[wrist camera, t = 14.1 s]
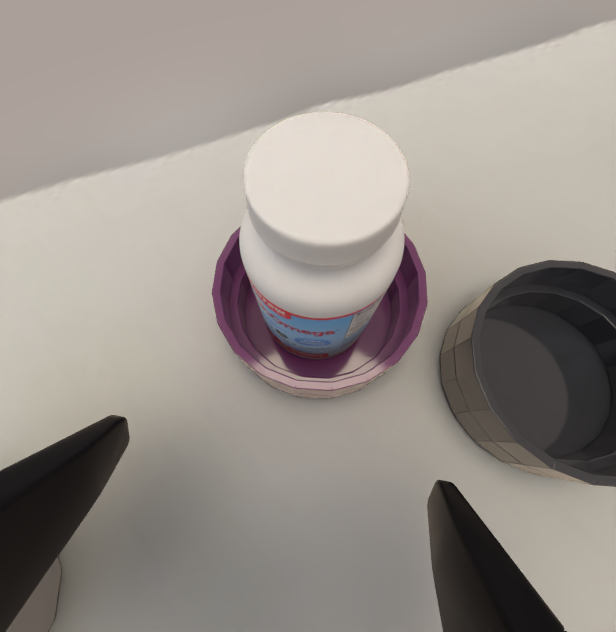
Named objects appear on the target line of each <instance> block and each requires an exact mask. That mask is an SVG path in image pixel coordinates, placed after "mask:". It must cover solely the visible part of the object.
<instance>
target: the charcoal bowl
mask: <svg viewBox="0 0 616 632" xmlns="http://www.w3.org/2000/svg"><path fill="white" fill-rule="evenodd" d="M440 355H441V356H440V361H441V375H442V384H443V388H444V390H445V393H446V396H447V398H448V401H449V403H450V406H451V409H452V411H453V413H454V415H455V416H456V418H457V419H458V420H459V422H460V423H461V424H462V426H463V427H464V428H465V430H466V431H467V432H468V434H469V435H470V436H471V437H472V439H473V440H475V442H477V443H478V444H479V445H481V446H482V447H483V448H484V449H486V450H487V451H488V452H490V453H491V454H492V455H494V456H495V457H496V458H497V459H499V460H501V461H502V462H504V463H506V464H509V465H511V466H514V467H516V468H519V469H521V470H524V471H527V472H529V473H532V474H536V475H541V476H547V477H552V478H558V479H563V480H568V481H574V482H579V483H584V484H590V485H597V486H612V487H616V273H615V272H613V271H609V270H606V269H603V268H600V267H597V266H593V265H590V264H587V263H584V262H575V261H555V260H548V261H544V262H539V263H535V264H531V265H527V266H523V267H520V268H518V269H516V270H514V271H513V272H511V273H510V274H508V275H507V276H505V277H504V278H502V279H501V280H499V281H498V282H496V283H495V284H494V285H492V286H491V287H490V288H489V289H487V290H486V291H485V292H484V293H483V294H481V295H480V296H479V297H478V298H476V299H475V300H474V301H473V302H471V303H470V304H469V305H468V306H466V307H465V308H464V309H463V310H462V311H461V312H460V313H459V314H458V316H457V317H456V319H455V320H454V321H453V323H452V324H451V326H450V327H449V328H448V330H447V332H446V336H445V339H444V343H443V347H442V351H441V354H440Z"/></svg>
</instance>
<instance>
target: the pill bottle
mask: <svg viewBox="0 0 616 632" xmlns="http://www.w3.org/2000/svg"><path fill="white" fill-rule="evenodd" d="M243 185H244V191H245V195H246V199H247V209H246V211H245V213H244V216H243V219H242V222H241V227H240V234H239V245H240V253H241V258H242V261H243V265H244V268H245V270H246V273H247V275H248V278H249V281H250V283H251V286H252V289H253V292H254V294H255V297H256V299H257V302H258V305H259V307H260V310H261V313H262V315H263V318H264V321H265V323H266V326H267V328H268V330H269V332H270V334H271V335H272V337H273V338H274V340H275V341H276V342H277V343H278V344H279V345H280V346H281V347H282V348H284V349H285V350H287V351H288V352H290V353H292V354H294V355H296V356H299V357H302V358H307V359H326V358H331V357H334V356H337V355H339V354H341V353H343V352H344V351H346V350H347V349H348V348H350V347H351V346H352V345H353V344H354V343H355V342H356V341H357V339H358V338H359V337H360V335H361V334H362V333H363V331H364V329H365V328H366V326H367V324H368V323H369V321H370V319H371V317H372V316H373V314H374V312H375V310H376V309H377V307H378V305H379V303H380V302H381V300H382V298H383V296H384V295H385V293H386V291H387V289H388V288H389V286H390V284H391V282H392V281H393V279H394V277H395V275H396V273H397V271H398V269H399V266H400V264H401V261H402V257H403V252H404V242H405V239H404V228H403V223H402V220H401V214H402V210H403V208H404V205H405V202H406V199H407V196H408V191H409V169H408V165H407V162H406V160H405V158H404V155H403V153H402V151H401V150H400V148H399V146H398V145H397V144H396V143H395V141H394V140H393V139H392V138H391V137H390V136H389V135H388V134H387V133H385V132H384V131H383V130H382V129H380V128H379V127H377V126H376V125H374V124H372V123H370V122H369V121H366V120H364V119H362V118H359V117H356V116H353V115H350V114H345V113H338V112H328V111H322V112H311V113H305V114H300V115H297V116H293V117H290V118H288V119H285V120H283V121H281V122H279V123H277V124H276V125H274V126H272V127H271V128H270V129H268V130H267V131H266V132H264V133H263V134H262V135H261V136H260V137H259V138H258V140H257V141H256V142H255V143H254V145H253V146H252V148H251V149H250V151H249V153H248V156H247V158H246V161H245V164H244V171H243Z"/></svg>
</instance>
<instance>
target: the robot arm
mask: <svg viewBox="0 0 616 632" xmlns="http://www.w3.org/2000/svg"><path fill="white" fill-rule="evenodd" d="M128 443H129V430H128V423H127V419H126V418H125V417H121V416H116V415H111V416H108V417H106V418H104V419H102V420H100V421H98V422H96V423H94V424H92V425H90V426H88V427H86V428H84V429H82V430H80V431H78V432H76V433H74V434H72V435H70V436H68V437H66V438H64V439H62V440H60V441H58V442H57V443H55V444H53V445H51V446H49V447H47V448H45V449H43V450H41V451H39V452H37V453H35V454H33V455H31V456H29V457H27V458H25V459H23V460H21V461H19V462H17V463H15V464H13V465H11V466H9V467H7V468H5V469H3V470H1V471H0V632H6V631H7V629H8V628H9V626H10V625H11V624H12V622H13V621H14V619H15V618H16V616H17V615H18V613H19V612H20V610H21V609H22V608H23V606H24V605H25V603H26V602H27V600H28V599H29V597H30V596H31V595H32V593H33V592H34V590H35V589H36V587H37V586H38V584H39V583H40V581H41V580H42V579H43V577H44V576H45V574H46V573H47V571H48V570H49V568H50V567H51V566H52V564H53V563H54V561H55V560H56V558H57V557H58V555H59V554H60V552H61V551H62V550H63V548H64V547H65V545H66V544H67V542H68V541H69V539H70V538H71V537H72V535H73V534H74V532H75V531H76V529H77V528H78V526H79V525H80V523H81V522H82V521H83V519H84V518H85V516H86V515H87V513H88V512H89V510H90V509H91V508H92V506H93V505H94V503H95V502H96V500H97V499H98V497H99V495H100V494H101V492H102V490H103V489H104V487H105V485H106V483H107V482H108V480H109V478H110V476H111V474H112V473H113V471H114V469H115V467H116V466H117V464H118V462H119V460H120V458H121V457H122V455H123V453H124V451H125V449H126V448H127V446H128ZM427 508H428V521H429V534H430V547H431V560H432V570H433V576H434V582H435V588H436V594H437V599H438V605H439V611H440V616H441V622H442V627H443V632H567V631H564V627H563V625H562V624H561V623H560V621H559V620H558V619H557V617H556V616H555V615H554V614H553V612H552V611H551V610H550V608H549V607H548V606H547V604H546V603H545V602H544V601H543V599H542V598H541V597H540V595H539V594H538V593H537V591H536V590H535V589H534V588H533V586H532V585H531V584H530V582H529V581H528V580H527V578H526V577H525V576H524V575H523V573H522V572H521V571H520V569H519V568H518V567H517V565H516V564H515V563H514V562H513V560H512V559H511V558H510V556H509V555H508V554H507V552H506V551H505V550H504V548H503V547H502V546H501V545H500V543H499V542H498V541H497V539H496V538H495V537H494V535H493V534H492V533H491V532H490V530H489V529H488V528H487V526H486V525H485V524H484V522H483V521H482V520H481V519H480V517H479V516H478V515H477V513H476V512H475V511H474V509H473V508H472V507H471V506H470V504H469V503H468V502H467V500H466V499H465V498H464V496H463V495H462V494H461V493H460V491H459V490H458V489H457V487H456V486H455V485H454V484H453V483H451V482H447V481H442V480H437V481H436V482H435V484H434V487H433V489H432V491H431V494H430V496H429V499H428V505H427Z"/></svg>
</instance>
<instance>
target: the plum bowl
mask: <svg viewBox="0 0 616 632" xmlns="http://www.w3.org/2000/svg"><path fill="white" fill-rule="evenodd" d="M240 227H241V226H240ZM240 227H239V228H238V229H237V230H236V231H235V232H234V233H233V234H232V236H231V237H230V239H229V241H228V242H227V244H226V246H225V248H224V250H223V252H222V254H221V255H220V257H219V259H218V261H217V265H216V271H215V277H214V283H213V288H212V296H213V301H214V307H215V312H216V318H217V323H218V325H219V327H220V329H221V330H222V332H223V334H224V336H225V337H226V339H227V341H228V343H229V344H230V346H231V348H232V349H233V351H234V352H235V354H236V355H237V356H238V357H239V358H240V359H241V360H242V361H243V362H244V363H245V364H246V365H247V366H248V367H249V368H250V369H251V370H252V371H253V372H254V373H256V374H257V375H258V376H259V377H260V378H261V379H263V380H264V381H265V382H266V383H267V384H268V385H270V386H272V387H274V388H277V389H279V390H281V391H284V392H286V393H289V394H291V395H294V396H296V397H305V398H321V399H328V398H334V397H337V396H341V395H345V394H349V393H352V392H356V391H359V390H360V389H361V388H363V387H364V386H366V385H367V384H369V383H370V382H372V381H373V380H375V379H376V378H378V377H379V376H381V375H382V374H383V373H385V372H386V371H387V370H388V369H390V368H391V367H392V366H393V365H395V364H396V363H397V362H398V361H399V360H400V358H401V357H402V356H403V354H404V353H405V352H406V350H407V349H408V348H409V346H410V345H411V344H412V342H413V341H414V340H415V338H416V337H417V336H418V334H419V330H420V327H421V324H422V320H423V317H424V313H425V310H426V307H427V289H426V273H425V270H424V268H423V265H422V263H421V261H420V258H419V256H418V253H417V251H416V249H415V246H414V245H413V243H412V242H411V241H410V239H409V238H408V237H407V236H406V235H405V234H404V239H405V242H404V252H403V257H402V261H401V264H400V266H399V269H398V271H397V273H396V275H395V277H394V279H393V281H392V282H391V284H390V286H389V288H388V289H387V291H386V293H385V295H384V296H383V298H382V300H381V302H380V303H379V305H378V307H377V309H376V310H375V312H374V314H373V316H372V317H371V319H370V321H369V323H368V324H367V326H366V328H365V329H364V331H363V333H362V334H361V335H360V337H359V338H358V339H357V341H356V342H355V343H354V344H353V345H352V346H351V347H350V348H348V349H347V350H346V351H344V352H343V353H341V354H339V355H337V356H334V357H331V358H326V359H307V358H302V357H299V356H296V355H294V354H292V353H290V352H288V351H287V350H285V349H284V348H282V347H281V346H280V345H279V344H278V343H277V342H276V341H275V340H274V338H273V337H272V335H271V334H270V332H269V330H268V328H267V326H266V323H265V321H264V318H263V315H262V313H261V310H260V307H259V305H258V302H257V299H256V297H255V294H254V292H253V289H252V286H251V283H250V281H249V278H248V275H247V273H246V270H245V268H244V265H243V261H242V258H241V253H240V245H239V234H240Z"/></svg>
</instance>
